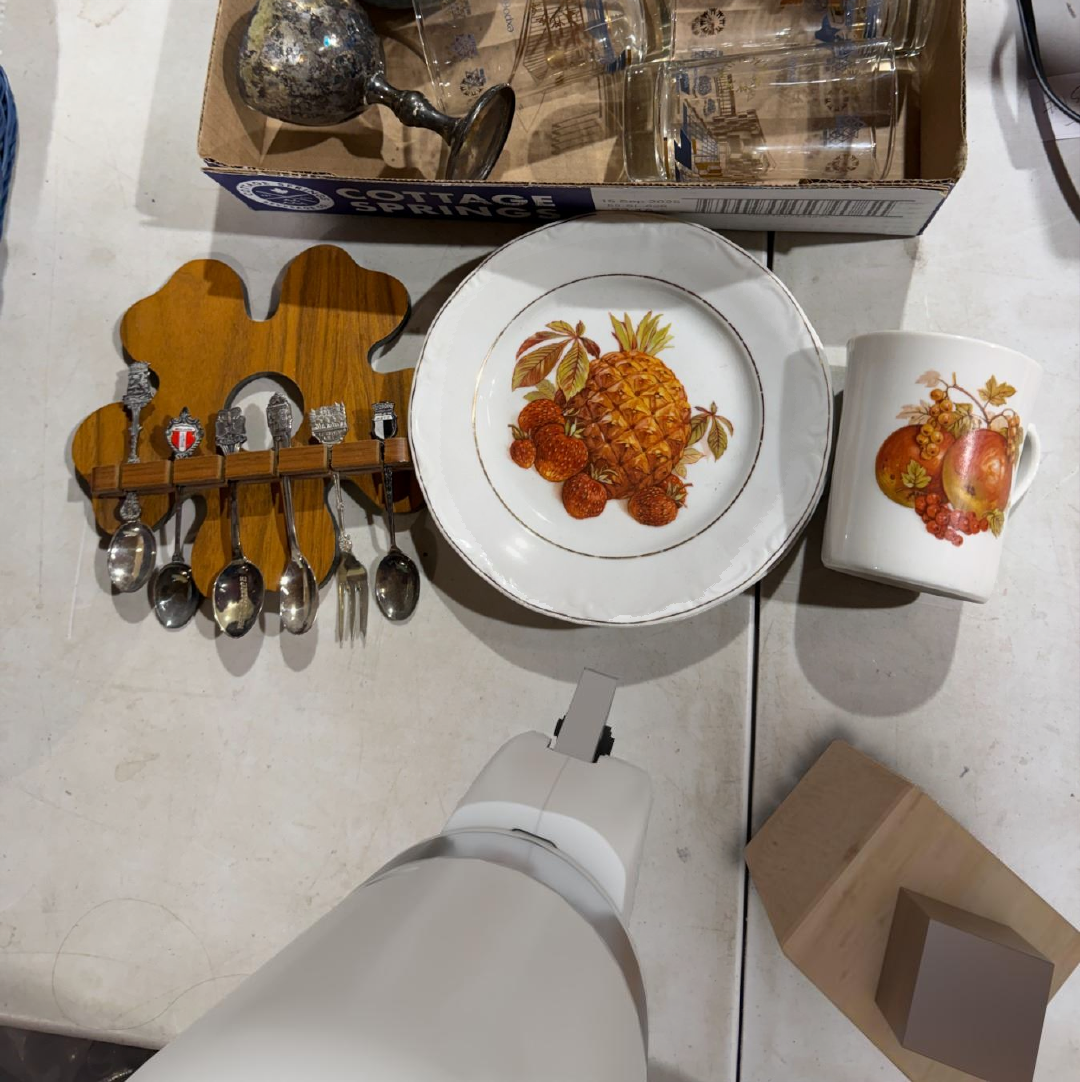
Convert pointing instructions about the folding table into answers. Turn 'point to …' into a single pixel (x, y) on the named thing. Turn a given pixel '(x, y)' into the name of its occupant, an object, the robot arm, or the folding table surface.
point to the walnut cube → (963, 989)
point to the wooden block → (881, 887)
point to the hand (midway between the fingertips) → (555, 854)
